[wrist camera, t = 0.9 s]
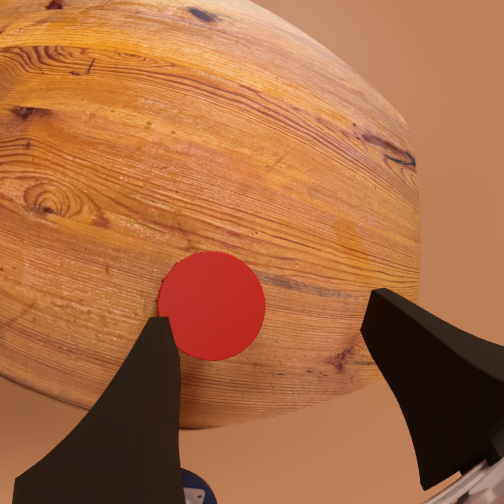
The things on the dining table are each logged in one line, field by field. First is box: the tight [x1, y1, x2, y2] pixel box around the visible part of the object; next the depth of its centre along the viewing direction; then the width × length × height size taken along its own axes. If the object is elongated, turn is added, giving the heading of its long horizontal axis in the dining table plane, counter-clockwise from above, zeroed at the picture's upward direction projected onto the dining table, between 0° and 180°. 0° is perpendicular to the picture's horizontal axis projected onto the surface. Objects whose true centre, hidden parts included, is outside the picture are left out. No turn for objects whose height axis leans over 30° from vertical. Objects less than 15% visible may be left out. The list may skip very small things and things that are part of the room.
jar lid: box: [156, 251, 265, 361], centre depth 15 cm, size 6×6×2 cm
